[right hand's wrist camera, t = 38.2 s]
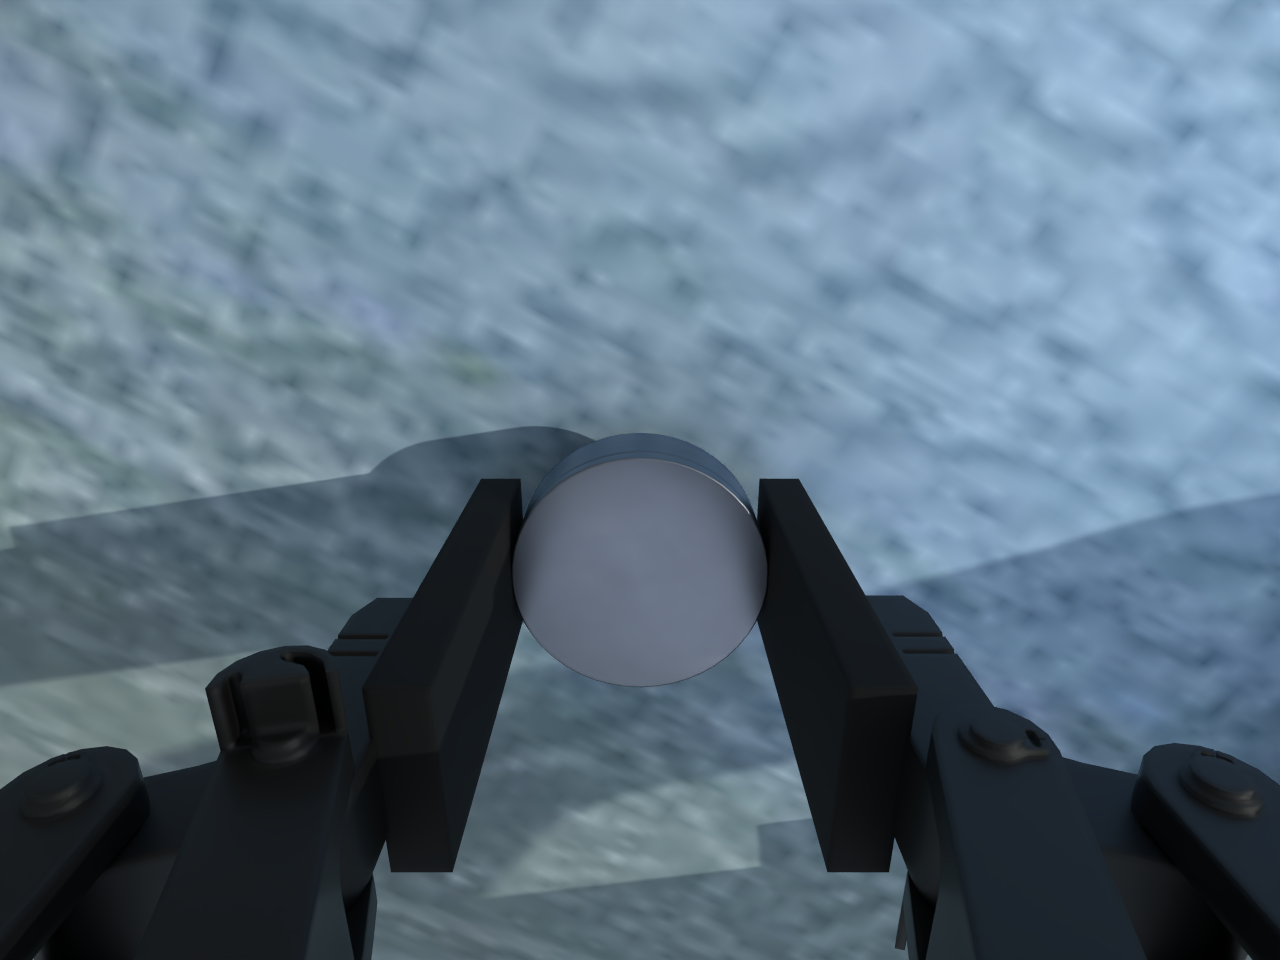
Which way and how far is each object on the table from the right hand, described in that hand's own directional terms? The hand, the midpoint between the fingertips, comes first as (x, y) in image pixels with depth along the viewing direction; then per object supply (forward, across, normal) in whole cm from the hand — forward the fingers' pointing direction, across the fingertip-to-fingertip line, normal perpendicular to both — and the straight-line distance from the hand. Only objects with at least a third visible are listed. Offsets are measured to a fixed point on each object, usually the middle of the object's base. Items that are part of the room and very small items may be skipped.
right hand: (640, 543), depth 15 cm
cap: (-1, 0, 0) cm, 1 cm away
